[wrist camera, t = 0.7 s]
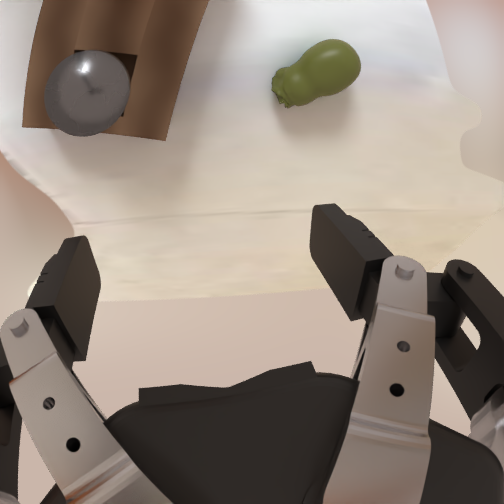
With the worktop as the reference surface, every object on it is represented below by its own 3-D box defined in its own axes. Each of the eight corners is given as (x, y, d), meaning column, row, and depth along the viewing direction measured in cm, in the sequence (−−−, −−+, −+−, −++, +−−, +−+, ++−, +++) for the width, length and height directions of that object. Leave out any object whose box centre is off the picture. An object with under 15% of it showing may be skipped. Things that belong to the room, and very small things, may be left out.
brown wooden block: (39, 112, 24) (22, 127, 20) (87, -66, 13) (75, -80, 9) (164, 125, 29) (165, 141, 26) (224, -49, 18) (236, -62, 15)
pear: (377, 79, 26) (297, 128, 29) (356, 66, 29) (285, 109, 33) (352, 34, 22) (265, 87, 26) (332, 27, 26) (257, 73, 29)
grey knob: (60, 113, 21) (40, 133, 17) (72, 44, 18) (51, 48, 14) (127, 120, 24) (120, 140, 20) (144, 51, 20) (138, 55, 16)
